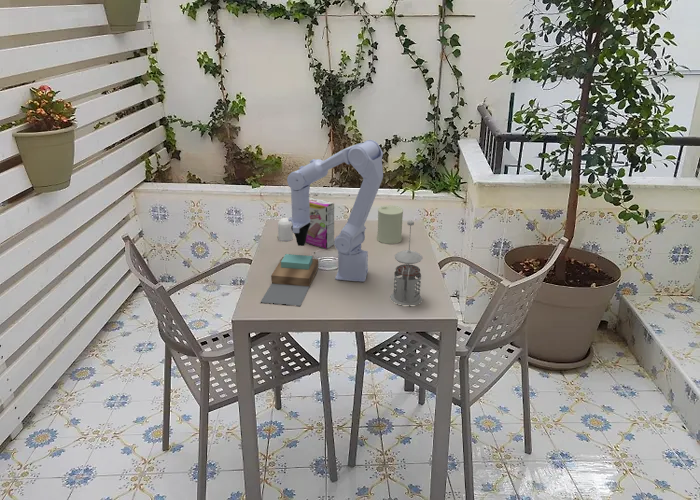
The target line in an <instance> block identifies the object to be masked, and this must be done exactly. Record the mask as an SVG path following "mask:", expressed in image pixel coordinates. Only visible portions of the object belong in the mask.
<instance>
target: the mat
mask: <svg viewBox="0 0 700 500" xmlns="http://www.w3.org/2000/svg"><path fill="white" fill-rule="evenodd" d="M309 289H310V287H309V286H299V285H287V284H275V283H272V282H271V284H270V285H269V287H268V288H267V290H266V292H265V294H264V295H263V297H262V298H261V300H260V302H262V303H261V304H267V303H274V304H273V305H278V304H286V305H285V306H290V305H296V306H295V307H301V305H302V303H303V302H304V299H305V298H306V295H307V293H308V291H309Z"/></svg>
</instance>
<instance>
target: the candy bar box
mask: <svg viewBox="0 0 700 500" xmlns="http://www.w3.org/2000/svg"><path fill="white" fill-rule="evenodd" d="M309 209H310V224H311V225H310V227H309V229H308V232H307V237H306V242H305V244H309V245H312V246H314V247H315V246H316V247H319V248H322V249H330V248H331V247H333V246H335V245H334V240H335V203H334V202H332V201H327V200H322V199H320V198H315V197H310V196H309Z"/></svg>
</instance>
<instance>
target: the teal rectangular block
mask: <svg viewBox="0 0 700 500" xmlns="http://www.w3.org/2000/svg"><path fill="white" fill-rule="evenodd" d="M282 257H283V259H282V258H281V259H282V261H281V260H280V261H281V268H294V269H307V270H309V268H310V266H311V264H312V262H313V259H314V258H313V255H303V254H293V253H292V254H290V253H289V254H288V253H286V254H284V256H282Z"/></svg>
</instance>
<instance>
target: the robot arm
mask: <svg viewBox="0 0 700 500" xmlns="http://www.w3.org/2000/svg"><path fill="white" fill-rule="evenodd" d="M383 155H384V152H383V150H382V149H381V147H380V145H379V143H378V142H377V141H376V140H374V139H367V140H365V141H363V142H360V143H356V144H354V145H350V146H348V147H345V148H344V149H343V148H342V149H341V150H340V151H338V152H336V153H334V154H333V155H331V156H330V157H328V158H326V159H324V160H322V159H315V158H313V159H311V160H309V163H308V164H305V165H301V166H299V167H298V169H297V170H295V171H292V172H290V173H289V174H288V176H287V178H286V182H287V185H288V187H289V188H290V195H291V197H290V198H291V199H290V200H291V201H290V202H291V217H289V218H288V221H291V222H292V226H291V229H292V231H293V234H294V236H295V239H296V243H297V246H300V247H305V245H306V243H305V242H306V237H307V232H308V229H309V227H310V225H311V224H310V209H309V197H310V190H311V185H312V184H313V183H316V182H317V181H319V180H321V179H323V178H325V177H327V175H328V173H329V170H331V169H333V168H335V167H337V166H339V165H341V164H344V163H345V164H346V165H348V166H349V165H351V166H352V167H353V169H355V170H356V171H357V172H358V174H359V175H360V176H361V177H362V182H361V184H360V188H359V190H358V193H357V196H356V199H355V201H354V203H353V206H352V209H351V211H350V214H349V217H348V219H347V222H346V223H345V225H344V226H343V228H341V231H340V233H339V234H338V235H336V237H334V245H333V246H334V248H335V249H336V251H337V254H338V255H337V257H338V261H337V262H338V263H337V264H338V265H337V266H338V267H337V269H338V270H337V273H336V276H335V277H334V278H335V280H336V281H337V280H338V281H351V282H361V283H363V282H366V279H367V276H368V273H369V265H368V263H369V262H368V261H369V251H368V250H365V249H362V244H363V243H364V242H365V239H366V234H365V232H366V229H367V227H366V226H365V224H366V221H367V219H368V217H369V214H370V212H371V209H372V207H373V204H374V201H375V199H376V196H377V194H378V191H379V189H380V187H381V184H382V182H383V178H384V169H383V161H382V160H383Z"/></svg>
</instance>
